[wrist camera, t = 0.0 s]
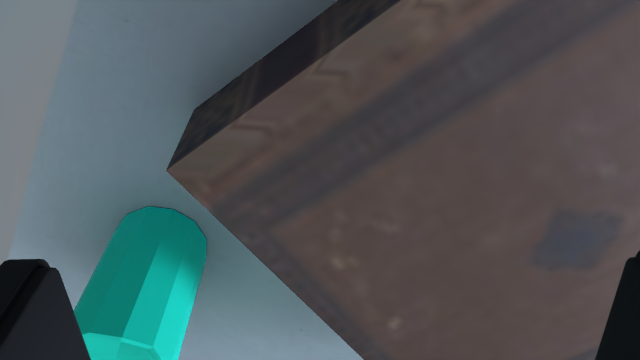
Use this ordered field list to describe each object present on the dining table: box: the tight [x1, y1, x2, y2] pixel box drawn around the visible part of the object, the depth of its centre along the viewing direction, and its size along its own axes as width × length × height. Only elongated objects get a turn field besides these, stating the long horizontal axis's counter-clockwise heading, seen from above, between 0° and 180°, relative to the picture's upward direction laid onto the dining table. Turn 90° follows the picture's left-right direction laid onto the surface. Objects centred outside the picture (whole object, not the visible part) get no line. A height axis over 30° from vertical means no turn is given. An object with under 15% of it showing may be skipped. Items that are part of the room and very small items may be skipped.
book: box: [166, 0, 640, 360], centre depth 30 cm, size 24×28×6 cm
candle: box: [74, 206, 207, 360], centre depth 32 cm, size 6×6×12 cm
